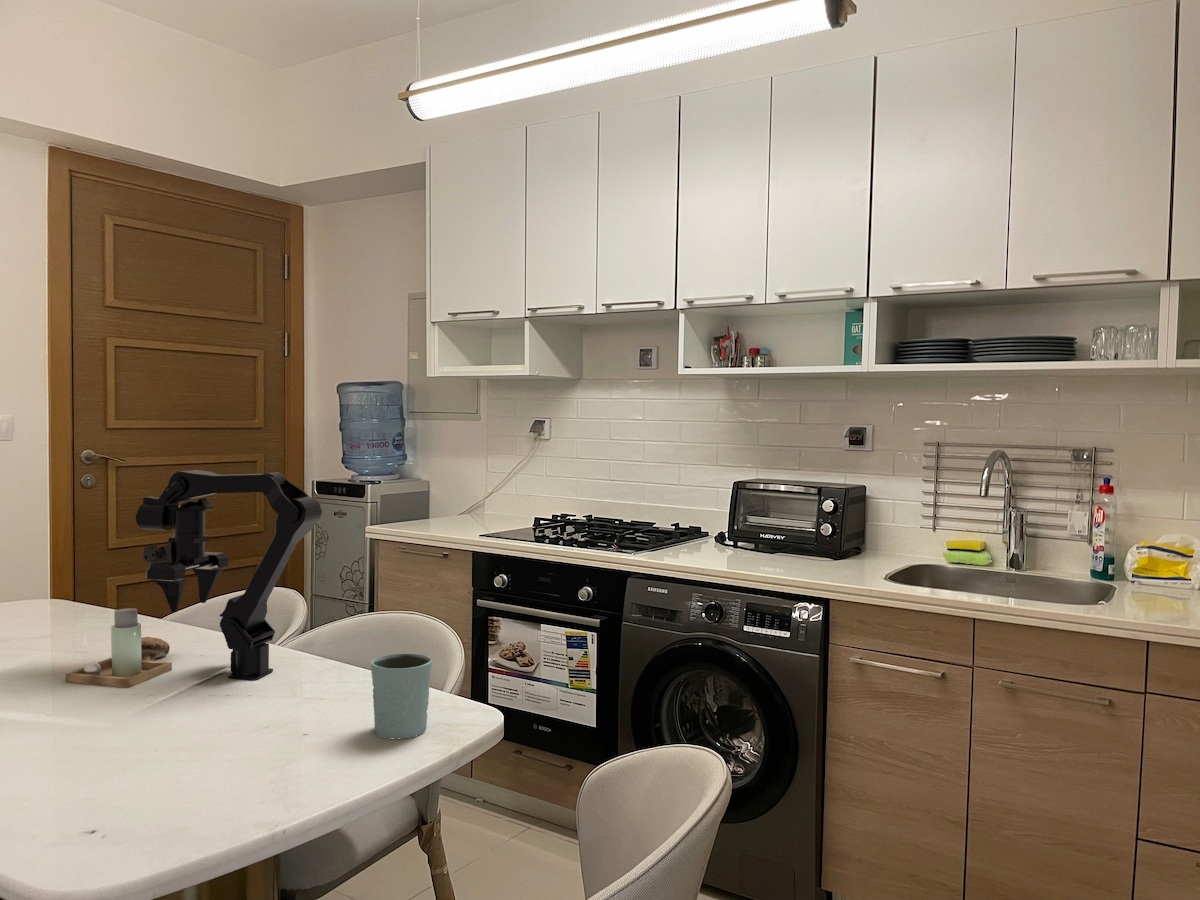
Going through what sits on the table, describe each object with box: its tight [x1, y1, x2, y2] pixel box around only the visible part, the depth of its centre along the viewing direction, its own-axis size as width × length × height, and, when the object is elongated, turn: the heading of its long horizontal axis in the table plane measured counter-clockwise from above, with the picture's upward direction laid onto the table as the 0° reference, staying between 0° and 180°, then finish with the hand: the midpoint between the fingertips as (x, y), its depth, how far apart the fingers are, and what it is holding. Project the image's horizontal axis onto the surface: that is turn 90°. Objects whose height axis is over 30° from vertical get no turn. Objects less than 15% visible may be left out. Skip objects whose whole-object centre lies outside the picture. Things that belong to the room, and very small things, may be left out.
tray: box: [65, 657, 173, 689], centre depth 176 cm, size 14×12×2 cm
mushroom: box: [141, 636, 170, 661], centre depth 188 cm, size 8×8×6 cm
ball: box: [83, 661, 102, 675], centre depth 175 cm, size 3×3×3 cm
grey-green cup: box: [370, 652, 433, 740], centre depth 152 cm, size 10×10×12 cm
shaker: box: [110, 607, 142, 678], centre depth 176 cm, size 5×5×13 cm
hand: (188, 607), depth 184 cm, fingers open, 9 cm apart
